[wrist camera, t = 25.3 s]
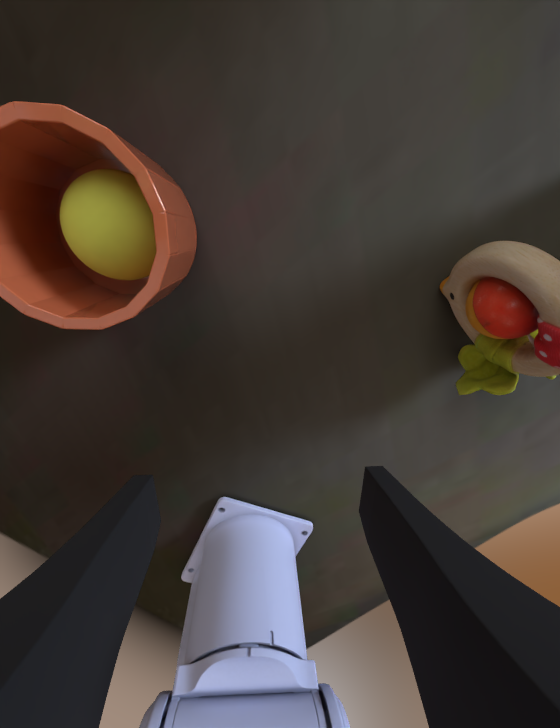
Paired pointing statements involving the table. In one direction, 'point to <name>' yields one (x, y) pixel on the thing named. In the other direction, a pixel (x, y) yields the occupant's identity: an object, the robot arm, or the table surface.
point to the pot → (43, 229)
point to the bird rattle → (506, 315)
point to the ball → (109, 224)
